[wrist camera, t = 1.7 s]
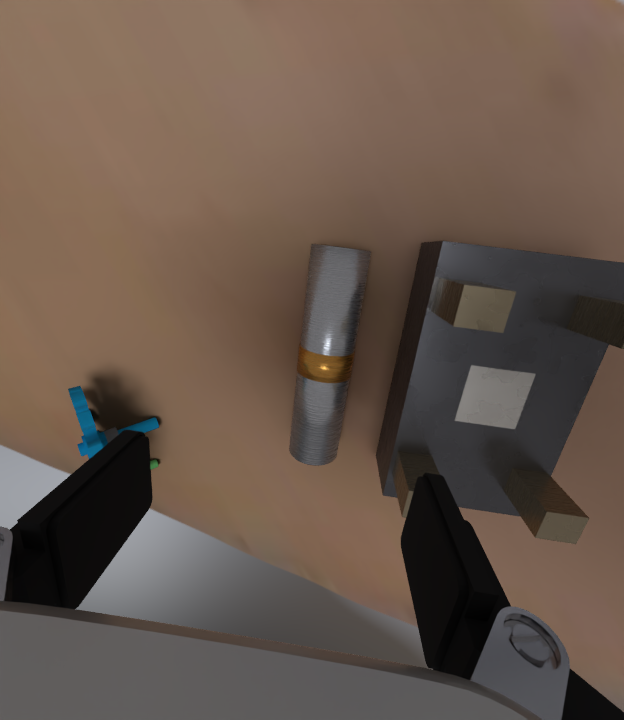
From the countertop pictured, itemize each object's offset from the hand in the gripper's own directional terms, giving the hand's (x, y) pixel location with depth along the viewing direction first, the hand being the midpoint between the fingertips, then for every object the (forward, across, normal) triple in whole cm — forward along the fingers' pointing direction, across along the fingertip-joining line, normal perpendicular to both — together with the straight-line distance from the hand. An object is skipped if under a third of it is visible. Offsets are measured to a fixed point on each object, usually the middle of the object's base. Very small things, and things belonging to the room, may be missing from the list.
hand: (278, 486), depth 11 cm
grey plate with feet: (+16, -12, 0) cm, 20 cm away
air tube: (+14, -1, 0) cm, 14 cm away
